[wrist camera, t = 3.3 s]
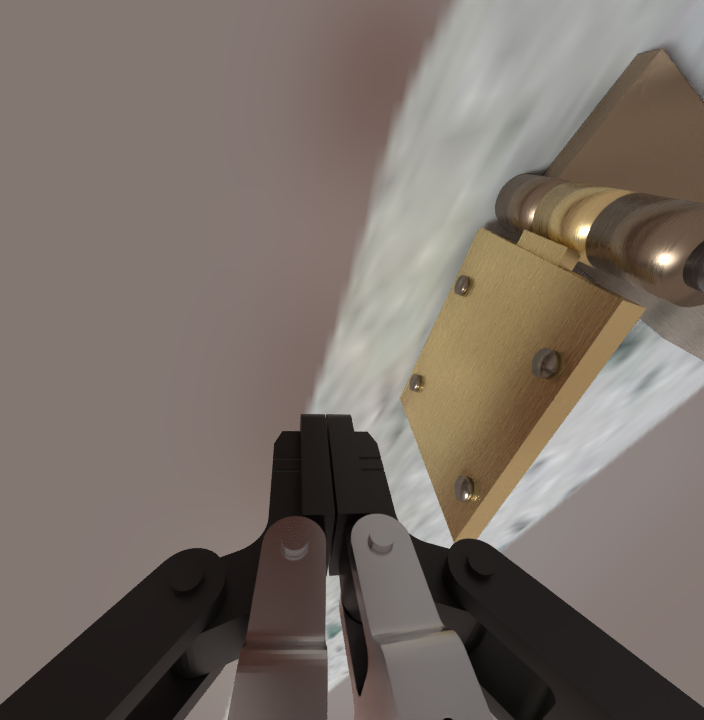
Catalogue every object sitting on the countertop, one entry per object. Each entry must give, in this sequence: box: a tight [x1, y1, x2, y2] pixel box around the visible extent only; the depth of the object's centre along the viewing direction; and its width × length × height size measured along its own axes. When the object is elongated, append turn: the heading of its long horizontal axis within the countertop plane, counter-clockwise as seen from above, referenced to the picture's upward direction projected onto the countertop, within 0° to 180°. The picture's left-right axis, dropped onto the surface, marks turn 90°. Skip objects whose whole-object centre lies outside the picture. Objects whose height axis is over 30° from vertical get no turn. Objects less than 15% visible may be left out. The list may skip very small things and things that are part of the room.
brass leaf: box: [400, 182, 646, 542], centre depth 15 cm, size 12×3×9 cm, turn 162°
